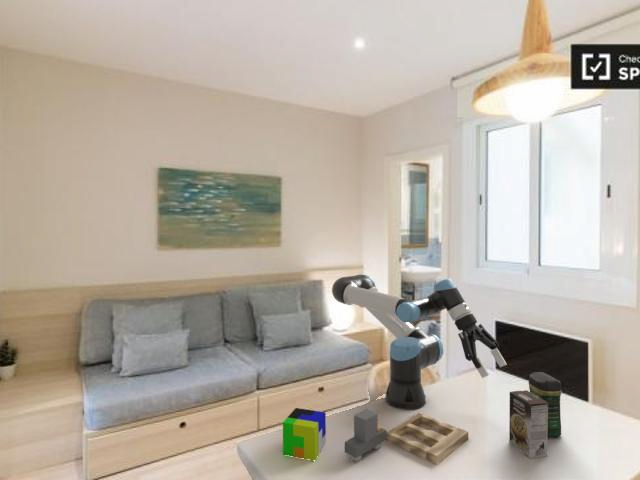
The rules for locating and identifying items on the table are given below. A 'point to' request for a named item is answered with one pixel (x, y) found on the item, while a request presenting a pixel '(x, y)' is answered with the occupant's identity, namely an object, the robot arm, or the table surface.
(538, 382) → the coffee jar
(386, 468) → the table surface
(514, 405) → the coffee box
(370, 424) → the grey stepped block
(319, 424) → the puzzle toy
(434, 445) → the keyhole board
